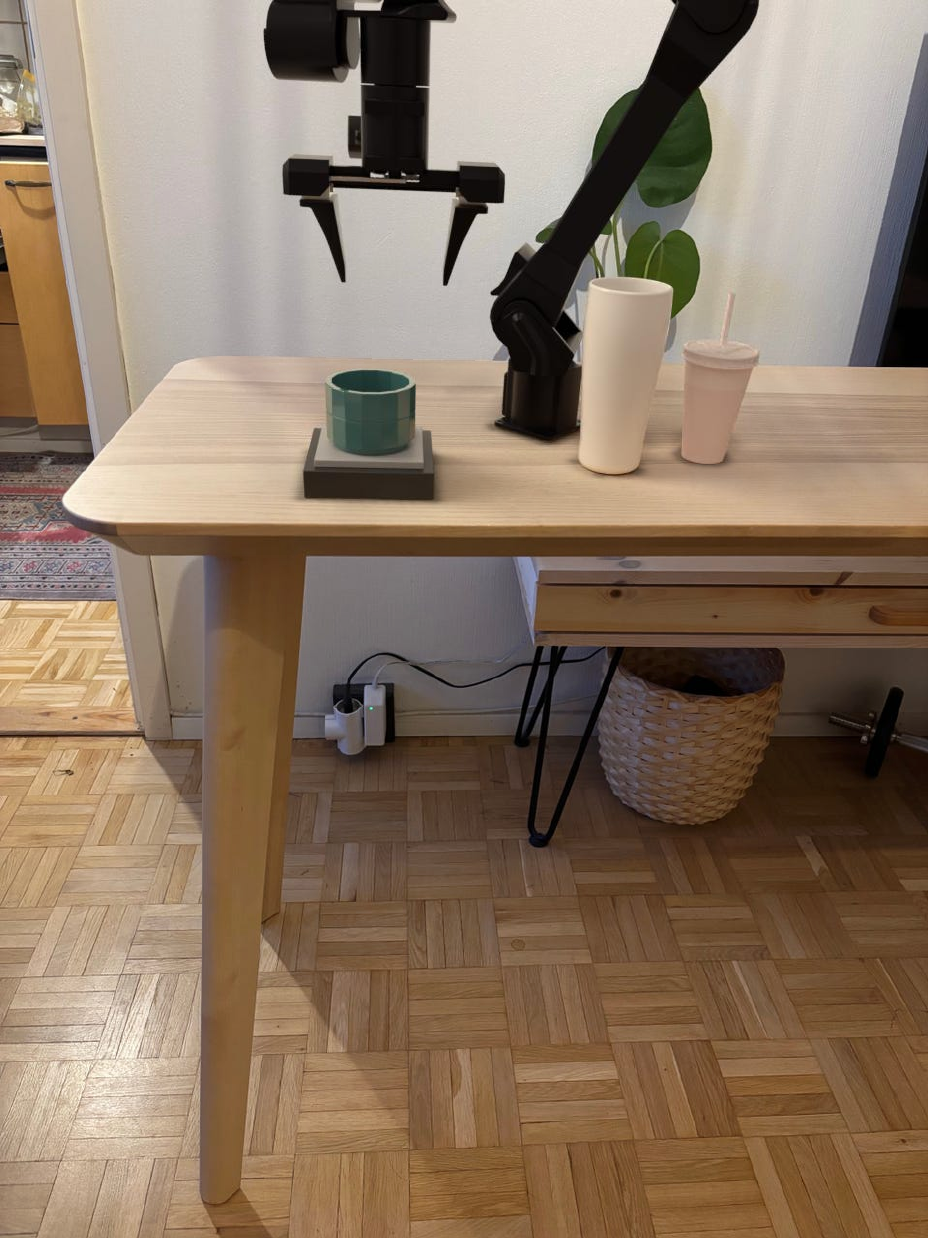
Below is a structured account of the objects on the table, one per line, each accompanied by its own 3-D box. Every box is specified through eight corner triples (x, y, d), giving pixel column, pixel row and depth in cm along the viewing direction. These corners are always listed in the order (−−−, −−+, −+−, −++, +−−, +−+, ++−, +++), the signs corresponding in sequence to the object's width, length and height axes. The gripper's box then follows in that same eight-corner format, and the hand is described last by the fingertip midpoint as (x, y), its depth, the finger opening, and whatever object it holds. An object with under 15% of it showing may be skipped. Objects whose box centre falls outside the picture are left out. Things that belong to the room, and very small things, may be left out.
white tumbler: (644, 454, 83) (670, 279, 75) (650, 482, 77) (679, 295, 69) (569, 449, 83) (587, 274, 76) (569, 476, 77) (588, 290, 70)
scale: (430, 454, 80) (431, 423, 79) (433, 499, 72) (434, 465, 70) (315, 452, 80) (313, 420, 78) (304, 497, 71) (302, 463, 70)
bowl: (432, 442, 75) (433, 381, 72) (372, 464, 70) (371, 399, 68) (369, 422, 79) (369, 363, 76) (309, 441, 74) (306, 379, 71)
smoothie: (741, 450, 85) (773, 291, 78) (735, 474, 79) (769, 306, 72) (671, 440, 86) (696, 283, 79) (661, 462, 81) (687, 297, 74)
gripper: (499, 89, 84) (489, 270, 92) (291, 79, 83) (300, 264, 90) (511, 91, 74) (499, 293, 82) (276, 80, 73) (287, 286, 81)
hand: (394, 283), depth 84 cm, fingers open, 9 cm apart
